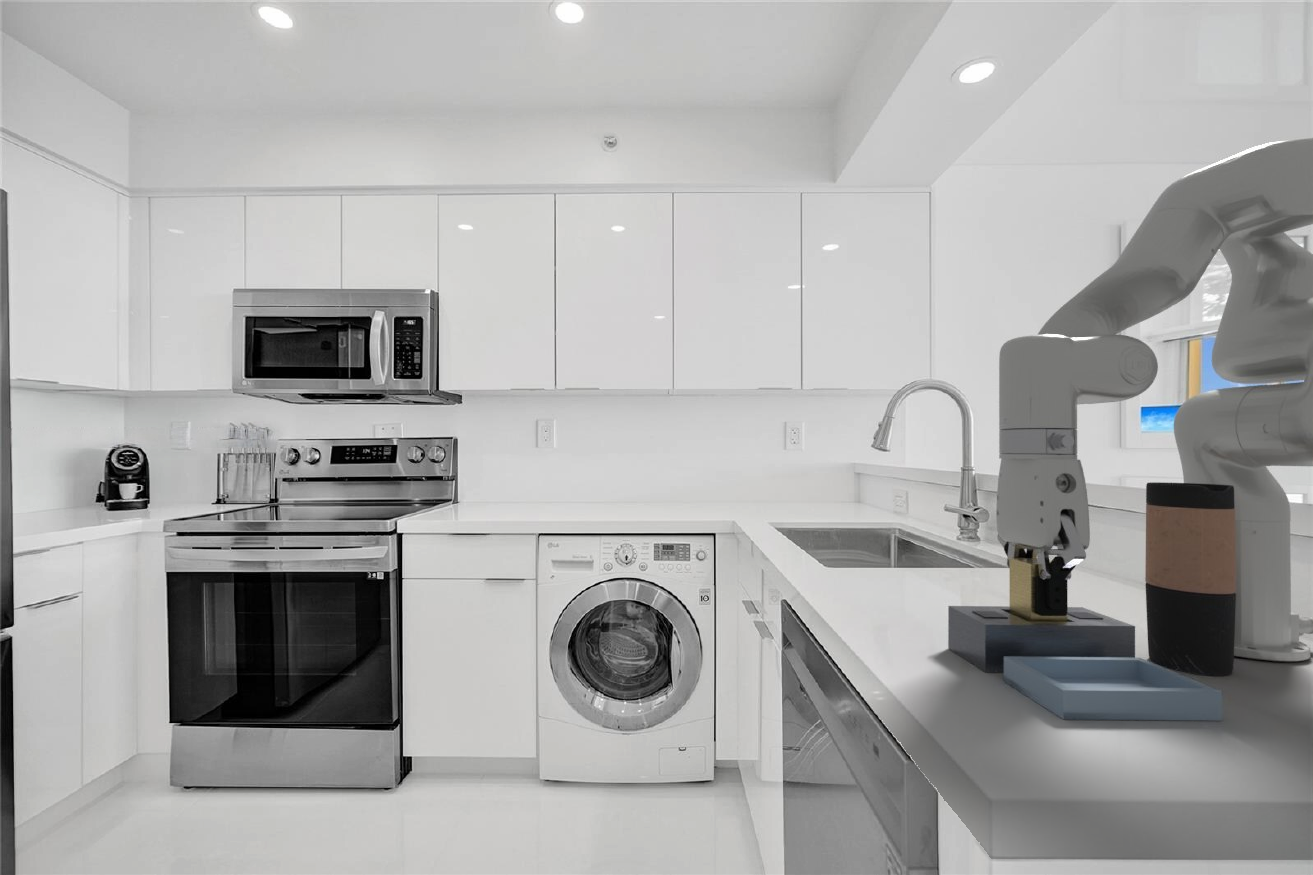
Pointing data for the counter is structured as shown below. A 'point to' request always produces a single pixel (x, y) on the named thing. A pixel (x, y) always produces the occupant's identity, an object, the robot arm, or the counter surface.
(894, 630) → the counter surface
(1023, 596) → the brushed brass bar
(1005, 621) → the grey slotted block
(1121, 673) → the parts tray
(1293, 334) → the robot arm
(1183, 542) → the travel mug
